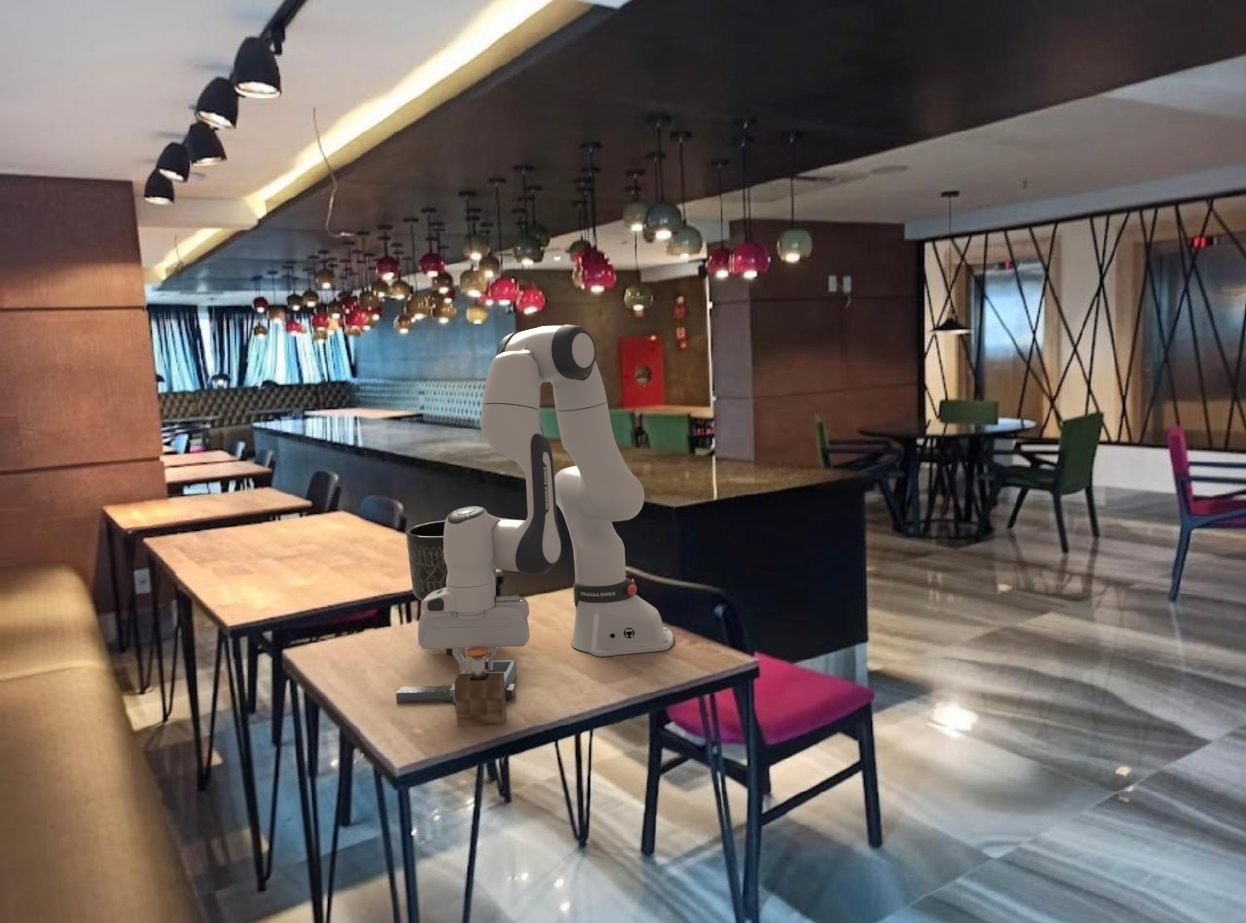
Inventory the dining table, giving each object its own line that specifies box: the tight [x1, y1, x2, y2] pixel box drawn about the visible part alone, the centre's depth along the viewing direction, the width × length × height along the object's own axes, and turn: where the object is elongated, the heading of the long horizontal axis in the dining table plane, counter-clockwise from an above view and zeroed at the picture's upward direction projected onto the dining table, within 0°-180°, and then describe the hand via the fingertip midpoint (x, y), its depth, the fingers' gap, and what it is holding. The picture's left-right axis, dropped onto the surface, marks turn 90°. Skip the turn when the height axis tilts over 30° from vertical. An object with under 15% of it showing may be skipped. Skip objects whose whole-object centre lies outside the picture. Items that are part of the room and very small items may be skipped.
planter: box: [405, 520, 497, 656], centre depth 201 cm, size 20×20×26 cm
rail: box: [395, 683, 516, 704], centre depth 170 cm, size 22×3×2 cm, turn 88°
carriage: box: [450, 648, 517, 704], centre depth 172 cm, size 10×16×11 cm, turn 178°
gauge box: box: [453, 673, 507, 727], centre depth 159 cm, size 8×4×8 cm, turn 88°
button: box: [467, 646, 488, 681], centre depth 158 cm, size 4×4×7 cm
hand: (476, 669), depth 166 cm, fingers closed on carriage, 3 cm apart
